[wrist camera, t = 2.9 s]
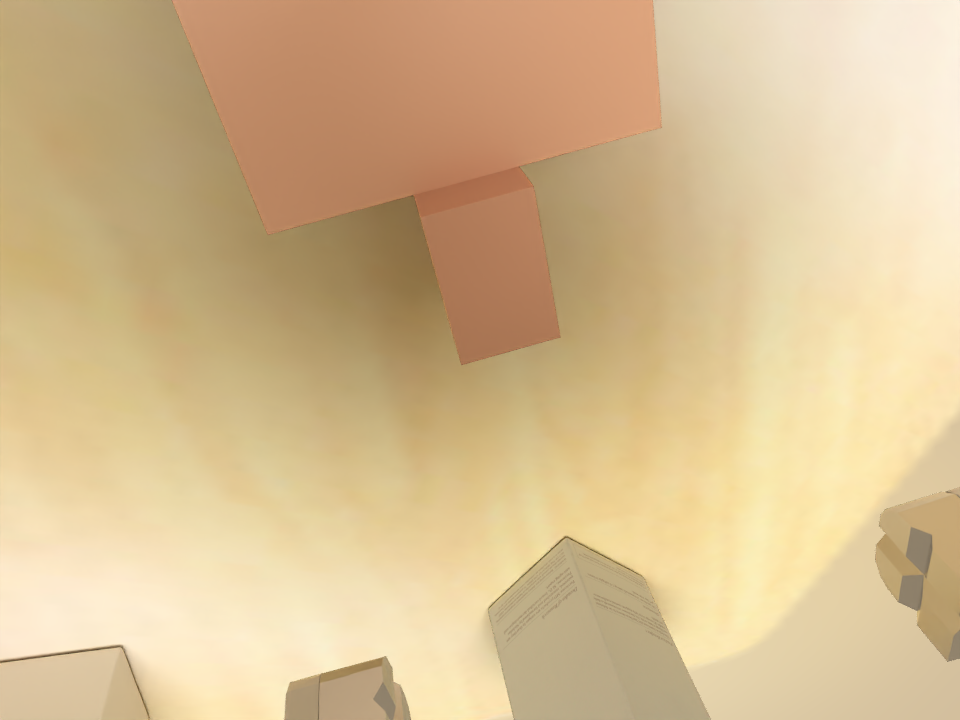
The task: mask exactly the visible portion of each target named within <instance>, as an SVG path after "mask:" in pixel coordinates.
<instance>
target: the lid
mask: <svg viewBox="0 0 960 720" xmlns="http://www.w3.org/2000/svg"><path fill="white" fill-rule="evenodd" d="M172 2H173V5H174V7H175V10H176V12H177V15H178V17H179V19H180V22H181V24H182V27H183V29H184V32H185V34H186V37H187V39H188V41H189V44H190V46H191V49H192V51H193V54H194V56H195V59H196V61H197V63H198V66H199V68H200V71H201V73H202V76H203V78H204V80H205V83H206V85H207V88H208V90H209V93H210V95H211V98H212V100H213V102H214V105H215V107H216V110H217V112H218V115H219V117H220V120H221V122H222V124H223V127H224V129H225V132H226V134H227V137H228V139H229V142H230V144H231V146H232V149H233V151H234V154H235V156H236V159H237V161H238V164H239V166H240V168H241V171H242V173H243V176H244V178H245V181H246V183H247V186H248V188H249V190H250V193H251V195H252V198H253V200H254V203H255V205H256V207H257V210H258V212H259V215H260V217H261V220H262V222H263V225H264V227H265V229H266V232H267V234H268V235H269V234H273V233H277V232H280V231H284V230H288V229H291V228H295V227H299V226H302V225H306V224H310V223H313V222H317V221H321V220H324V219H328V218H332V217H335V216H339V215H343V214H346V213H350V212H354V211H357V210H361V209H365V208H368V207H372V206H376V205H379V204H383V203H387V202H390V201H394V200H398V199H401V198H405V197H409V196H412V195H414V198H415V202H416V205H417V209H418V213H419V216H420V220H421V224H422V227H423V231H424V234H425V238H426V242H427V245H428V249H429V252H430V256H431V260H432V263H433V267H434V270H435V274H436V278H437V281H438V285H439V289H440V292H441V296H442V299H443V303H444V307H445V310H446V314H447V317H448V321H449V324H450V328H451V331H452V334H453V338H454V341H455V345H456V348H457V352H458V355H459V358H460V362H461V365H463V364H467V363H470V362H474V361H478V360H481V359H485V358H488V357H492V356H495V355H499V354H502V353H506V352H510V351H513V350H517V349H520V348H524V347H527V346H531V345H534V344H538V343H542V342H545V341H549V340H552V339H556V338H559V337H560V332H559V326H558V321H557V315H556V309H555V304H554V298H553V293H552V287H551V281H550V276H549V270H548V264H547V259H546V253H545V248H544V242H543V236H542V231H541V225H540V219H539V214H538V208H537V203H536V197H535V191H534V186H533V185H532V183H531V182H530V181H529V179H528V178H527V177H526V175H525V174H524V173H523V171H522V170H521V168H520V167H519V166H522V165H526V164H530V163H533V162H537V161H541V160H544V159H548V158H552V157H555V156H559V155H563V154H566V153H570V152H574V151H577V150H581V149H585V148H588V147H592V146H596V145H599V144H603V143H607V142H610V141H614V140H618V139H621V138H625V137H629V136H632V135H636V134H640V133H643V132H647V131H651V130H654V129H658V128H662V124H661V110H660V96H659V82H658V67H657V53H656V39H655V25H654V10H653V0H172Z"/></svg>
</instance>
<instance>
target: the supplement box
mask: <svg viewBox="0 0 960 720" xmlns="http://www.w3.org/2000/svg"><path fill="white" fill-rule="evenodd" d="M488 612H489V617H490V621H491V625H492V630H493V634H494V638H495V643H496V647H497V651H498V655H499V659H500V663H501V667H502V672H503V676H504V680H505V684H506V688H507V693H508V697H509V701H510V705H511V709H512V713H513V718H514V720H711V718H710V716H709V714H708V712H707V710H706V708H705V706H704V704H703V702H702V700H701V698H700V695H699V693H698V691H697V689H696V687H695V685H694V683H693V681H692V679H691V677H690V675H689V673H688V671H687V669H686V666H685V664H684V662H683V660H682V658H681V656H680V654H679V652H678V650H677V647H676V645H675V643H674V641H673V639H672V637H671V635H670V633H669V631H668V629H667V626H666V624H665V622H664V620H663V618H662V616H661V614H660V612H659V609H658V607H657V605H656V603H655V601H654V599H653V597H652V595H651V592H650V590H649V588H648V586H647V584H646V582H645V579H644V578H643V577H642V576H640V575H638V574H636V573H634V572H632V571H630V570H629V569H627V568H625V567H623V566H621V565H619V564H617V563H615V562H613V561H611V560H609V559H607V558H605V557H603V556H601V555H599V554H598V553H596V552H594V551H592V550H590V549H588V548H586V547H584V546H582V545H580V544H578V543H576V542H574V541H573V540H571V539H569V538H565V539H564V540H562V541H561V542H560V543H559V544H558V545H557V546H556V547H555V548H553V549H552V550H551V551H550V552H549V553H548V554H547V555H546V556H545V557H544V558H542V559H541V560H540V561H539V562H538V563H537V564H536V565H535V566H534V567H533V568H532V569H530V570H529V571H528V572H527V573H526V574H525V575H524V576H523V577H521V578H520V579H519V580H518V581H517V582H516V583H515V584H514V585H513V586H512V587H511V588H510V589H509V590H508V591H507V592H506V593H505V594H503V595H502V596H501V597H500V598H499V599H498V600H497V601H496V602H495V603H494V604H493V605H492V606H491V607H490V608H489V611H488Z"/></svg>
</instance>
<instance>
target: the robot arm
mask: <svg viewBox="0 0 960 720" xmlns="http://www.w3.org/2000/svg"><path fill="white" fill-rule="evenodd" d="M879 527H880V528H881V529H882V530H883V531H884V532H885V533H886V534H885V535H884V536H883V538H882V539H881V540H880V541H879V542H878V543H877V545H876V554H875V560H876V564H877V567H878V570H879V574H880V576H881V578H882V580H883V582H884V583H885V585H886V587H887V588H888V590H889V591H890V592H891V594H892V595H893V596H894V597H895V599H896V600H897V601H898V602H899V603H902V604H904V605H906V606H908V607H910V608H912V609H914V610H916V611H917V625H918V626H919V628H920V629H921V630H922V632H923V633H924V634H925V635H926V636H927V638H928V639H929V640H930V641H931V642H932V644H933V645H934V646H935V647H936V648H937V650H938V651H939V652H940V653H941V654H942V656H943V657H944V658H945V659H946V660H947V662H948V661H952V660H956V659H960V487H959V488H956V489H952V490H949V491H946V492H939V493H936V494H932V495H929V496H926V497H923V498H919V499H916V500H913V501H910V502H906V503H904V504H900V505H897V506H894V507H890V508H887V509H885V510H884V511H883V513H882V514H881V516H880V522H879ZM285 720H411V717H410V712H409V707H408V704H407V701H406V698H405V695H404V692H403V690H402V688H401V686H400V685H399V684H397V683H395V682H393V671H392V667H391V665H390V663H389V661H388V659H387V657H386V656H385V657H381V658H377V659H374V660H370V661H366V662H363V663H359V664H355V665H351V666H348V667H344V668H340V669H337V670H333V671H329V672H326V673H321V674H318V675H314V676H311V677H307V678H304V679H300V680H297V681H293V682H290V684H289V687H288V690H287V693H286V703H285Z"/></svg>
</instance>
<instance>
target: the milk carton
mask: <svg viewBox="0 0 960 720" xmlns="http://www.w3.org/2000/svg"><path fill="white" fill-rule="evenodd" d="M0 720H149V717H148V714H147V712H146V709H145V706H144V704H143V701H142V699H141V696H140V693H139V691H138V688H137V685H136V683H135V680H134V678H133V675H132V672H131V670H130V667H129V664H128V662H127V659H126V657H125V654H124V652H123V650H122V648H121V647H118V648H110V649H102V650H95V651H87V652H79V653H72V654H64V655H57V656H49V657H42V658H34V659H27V660H19V661H12V662H4V663H0Z"/></svg>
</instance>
